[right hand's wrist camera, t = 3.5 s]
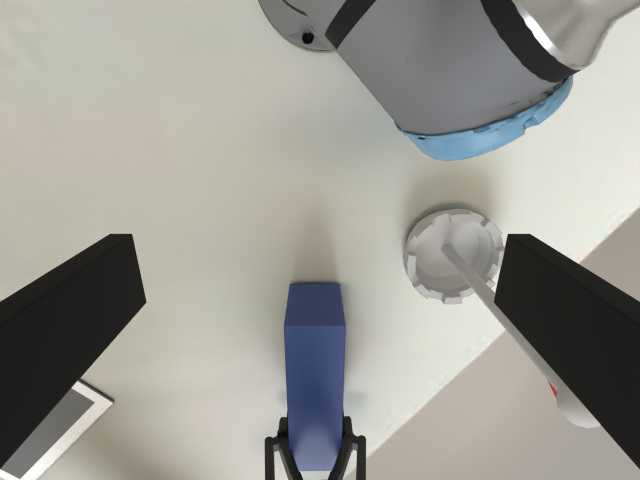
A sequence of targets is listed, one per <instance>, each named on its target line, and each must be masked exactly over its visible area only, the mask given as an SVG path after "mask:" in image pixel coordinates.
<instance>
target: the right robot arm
mask: <svg viewBox="0 0 640 480" xmlns="http://www.w3.org/2000/svg"><path fill="white" fill-rule="evenodd" d="M258 1H259V3H260V6H261V8H262V10H263V12H264V14H265V15H266V17H267V19H268V20H269V22H270V23H271V25H272V26H273V27H274V29H275V30H276V31H277V32H278V33H279V34H280V35H281V36H282V37H283V38H284V39H286V40H287V41H288V42H290V43H291V44H293V45H295V46H297V47H299V48H301V49H304V50H306V51H310V52H316V53H330V52H336V51H337V52H338V53H339V55H340V56H341V57H342V58H343V59H344V61H345V62H346V63H347V64H348V65H349V67H350V68H351V69H352V70H353V71H354V73H355V74H356V75H357V76H358V77H359V79H360V80H361V81H362V82H363V84H364V85H365V86H366V87H367V88H368V90H369V91H370V92H371V93H372V94H373V96H374V97H375V98H376V99H377V100H378V102H379V103H380V104H381V105H382V106H383V108H384V109H385V110H386V111H387V112H388V114H389V115H390V116H391V117H392V118H393V120H394V122H395V125H396V127H397V128H398V130H399V131H400V132H402V133H403V134H404V135H406V136H408V137H409V138H410V139H411V140H412V141H413V142H414V143H415V144H416V145H417V147H418V148H419V149H420V150H421V151H422V152H423V153H425V154H426V155H428V156H430V157H432V158H435V159H438V160H446V161H451V160H461V159H467V158H471V157H475V156H478V155H481V154H484V153H487V152H490V151H492V150H495V149H497V148H499V147H502V146H504V145H506V144H508V143H510V142H512V141H513V140H515V139H517V138H519V137H520V136H522V135H524V133H525V129H526V128H528V127H531V126H535V125H539V124H540V123H542V122H543V121H544V120H546V119H547V118H548V117H549V116H551V115H552V114H553V113H554V112H555V111H556V110H557V109H558V108H559V107H560V106H561V104H562V103H563V102H564V101H565V100H566V98H567V97H568V95H569V93H570V90H571V88H572V84H573V74H575V73H577V72H579V71H580V70H582V69H584V68H586V67H587V66H589V65H590V64H592V63H593V62H594V61H595V59H596V57H597V55H598V53H599V51H600V48H601V46H602V44H603V42H604V40H605V38H606V36H607V34H608V32H609V30H610V29H611V28H612V27H613V25H614V24H615V23H616V22H617V20H619V19H621V18H622V17H624V16H626V15H627V14H629V13H631V12H632V11H634V10H636V9H637V8H639V7H640V0H258ZM145 303H146V298H145V293H144V288H143V283H142V279H141V274H140V269H139V264H138V260H137V255H136V250H135V246H134V241H133V236H132V234H109V235H108V236H106V237H104V238H103V239H101V240H100V241H98V242H96V243H95V244H93V245H91V246H90V247H88V248H87V249H85V250H83V251H82V252H80V253H79V254H77V255H75V256H74V257H72V258H70V259H69V260H67V261H66V262H64V263H62V264H61V265H59V266H58V267H56V268H54V269H53V270H51V271H49V272H48V273H46V274H45V275H43V276H41V277H40V278H38V279H36V280H35V281H33V282H32V283H30V284H28V285H27V286H25V287H24V288H22V289H20V290H19V291H17V292H15V293H14V294H12V295H11V296H9V297H7V298H6V299H4V300H2V301H1V302H0V469H1V468H2V467H3V465H4V464H5V463H6V462H7V461H8V460H9V459H10V458H11V456H12V455H13V454H14V453H15V452H16V451H17V450H18V448H19V447H20V446H21V445H22V444H23V443H24V442H25V440H26V439H27V438H28V437H29V436H30V435H31V434H32V432H33V431H34V430H35V429H36V428H37V427H38V426H39V424H40V423H41V422H42V421H43V420H44V419H45V418H46V416H47V415H48V414H49V413H50V412H51V411H52V410H53V408H54V407H55V406H56V405H57V404H58V403H59V402H60V400H61V399H62V398H63V397H64V396H65V395H66V394H67V392H68V391H69V390H70V389H71V388H72V387H73V386H74V384H75V383H76V382H77V381H78V380H79V379H80V378H81V376H82V375H83V374H84V373H85V372H86V371H87V370H88V368H89V367H90V366H91V365H92V364H93V363H94V362H95V360H96V359H97V358H98V357H99V356H100V355H101V354H102V353H103V351H104V350H105V349H106V348H107V347H108V346H109V345H110V343H111V342H112V341H113V340H114V339H115V338H116V337H117V335H118V334H119V333H120V332H121V331H122V330H123V329H124V327H125V326H126V325H127V324H128V323H129V322H130V321H131V319H132V318H133V317H134V316H135V315H136V314H137V313H138V311H139V310H140V309H141V308H142V307H143V306H144V305H145ZM494 303H495V305H496V306H497V307H498V308H499V309H500V310H501V311H502V313H503V314H504V315H505V316H506V317H507V318H508V319H509V321H510V322H511V323H512V324H513V325H514V326H515V327H516V329H517V330H518V331H519V332H520V333H521V334H522V335H523V337H524V338H525V339H526V340H527V341H528V342H529V343H530V345H531V346H532V347H533V348H534V349H535V350H536V351H537V353H538V354H539V355H540V356H541V357H542V358H543V359H544V360H545V362H546V363H547V364H548V365H549V366H550V367H551V368H552V370H553V371H554V372H555V373H556V374H557V375H558V376H559V378H560V379H561V380H562V381H563V382H564V383H565V384H566V386H567V387H568V388H569V389H570V390H571V391H572V392H573V394H574V395H575V396H576V397H577V398H578V399H579V400H580V402H581V403H582V404H583V405H584V406H585V407H586V408H587V410H588V411H589V412H590V413H591V414H592V415H593V416H594V418H595V419H596V420H597V421H598V422H599V423H600V424H601V426H602V427H603V428H604V429H605V430H606V431H607V432H608V433H609V435H610V436H611V437H612V438H613V439H614V440H615V442H616V443H617V444H618V445H619V446H620V447H621V448H622V450H623V451H624V452H625V453H626V454H627V455H628V456H629V457H630V459H631V460H632V461H633V462H634V463H635V464H636V465H637V467H638V468H639V469H640V302H639V301H638V300H636V299H634V298H633V297H631V296H629V295H628V294H626V293H625V292H623V291H621V290H620V289H618V288H616V287H615V286H613V285H612V284H610V283H608V282H607V281H605V280H604V279H602V278H600V277H599V276H597V275H595V274H594V273H592V272H591V271H589V270H587V269H586V268H584V267H582V266H581V265H579V264H578V263H576V262H574V261H573V260H571V259H570V258H568V257H566V256H565V255H563V254H561V253H560V252H558V251H557V250H555V249H553V248H552V247H550V246H549V245H547V244H545V243H544V242H542V241H540V240H539V239H537V238H536V237H534V236H532V235H531V234H508V236H507V241H506V246H505V250H504V255H503V260H502V264H501V269H500V274H499V279H498V283H497V288H496V293H495V298H494Z"/></svg>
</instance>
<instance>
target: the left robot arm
mask: <svg viewBox="0 0 640 480" xmlns="http://www.w3.org/2000/svg"><path fill="white" fill-rule="evenodd" d="M278 450H279V453H280V456H281V459H282V462H283V465H284V468H285V471H286V474H287V477H288V480H303V478H302V475H301V473H300V472H299V470H298V467H297V464H296V462H295V459H294V456H293V454H292V451H291V450H290V449H289V431H288V411H287V417H281V419H280V422H279V430H278V432H277V436H276V437H274V438H272V437H267V438H266V439H265V480H275V470H274V452H275V451H278ZM353 450H356V451H357V469H356V480H366V438H365V436H363V435H360V436H359V437H358V436H355V435H354V434H353V431H352V423H351V418H350V416H344V412H343V420H342V449H340V450H339V453H338V455H337V458H336V461H335V464H334V466H333V469H332V471H331V472H330V475H329V478H328V480H342V479H343V476H344V473H345V470H346V467H347V464H348V461H349V458H350V455H351V452H352V451H353Z"/></svg>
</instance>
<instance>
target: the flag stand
mask: <svg viewBox="0 0 640 480" xmlns="http://www.w3.org/2000/svg"><path fill="white" fill-rule="evenodd" d="M501 234H502V232H501V231H500V230H499V228H498V227H497V226H496V225H495V224H493V223H492V222H491V221H489V220H488V219H487V218H485V217H484V216H482V215H480V214H478V213H476V212H474V211H470V210H466V209H450V210H442V211H437V212H434V213H431V214H429V215H428V216H426V217H424V218H423V219H422V220H420V221H419V222H418V223H417V224H416V225H415V226H414V227H413V229H412V231H411V232H410V234H409V236H408V239H407V243H406V246H405V249H404V256H403V259H404V267H405V270H406V273H407V275H408V277H409V279H410V281H411V282H412V284H413V286H414V288H415V289H416V290H417V291H418V292H419V293H420V294H421V295H422V296H424V297H425V298H427V299H428V297H432V298H435V299H440V300H442V302H443V303H444V304H460V303H462V298H464V297H467V296H470V295H472V294H474V293H476V294H477V295H478V296H479V298H480V299H481V300H482V301H483V302H484V304H485V305H486V306H487V307H488V308H489V310H490V311H491V312H492V313H493V315H494V316H495V317H496V318H497V319H498V321H499V322H500V323H501V324H502V325H503V327H504V328H505V329H506V330H507V331H508V333H509V334H510V335H511V336H512V338H513V339H514V340H515V341H516V342H517V344H518V345H519V346H520V347H521V348H522V350H523V351H524V352H525V353H526V355H527V356H528V357H529V358H530V359H531V361H532V362H533V363H534V364H535V365H536V367H537V368H538V369H539V370H540V371H541V373H542V374H543V375H544V376H545V377H546V379H547V380H548V382H549V384H550V386H551V388H552V390H553V393H554V395H555V397H556V401H557V405H558V408H559V410H560V411H561V413H562V414H563V415H564V416H565V417H566V419H568V420H569V421H570V422H572V423H574V424H576V425H578V426H581V427H586V428H593V427H598V426H600V425H601V424H600V423H599V422H598V421H597V420H596V419H595V418H594V416H593V415H592V414H591V413H590V412H589V411H588V410H587V408H586V407H585V406H584V405H583V404H582V403H581V402H580V400H579V399H578V398H577V397H576V396H575V395H574V394H573V392H572V391H571V390H570V389H569V388H568V387H567V386H566V384H565V383H564V382H563V381H562V380H561V379H560V378H559V376H558V375H557V374H556V373H555V372H554V371H553V370H552V368H551V367H550V366H549V365H548V364H547V363H546V362H545V360H544V359H543V358H542V357H541V356H540V355H539V354H538V353H537V351H536V350H535V349H534V348H533V347H532V346H531V345H530V343H529V342H528V341H527V340H526V339H525V338H524V337H523V335H522V334H521V333H520V332H519V331H518V330H517V329H516V327H515V326H514V325H513V324H512V323H511V322H510V321H509V319H508V318H507V317H506V316H505V315H504V314H503V313H502V311H501V310H500V309H499V308H498V307H497V306H496V305H495V303H494V298H495V293H494V292H493V291H492V290H491V288H492V287H493V286H494V285H495V283H494V282H493V281H492V278H493V277H494V276H495V274H496V273H497V271H498V269H499V267H501V264H502V260H503V255H504V250H505V248H504V247H503V242H502V238H501Z"/></svg>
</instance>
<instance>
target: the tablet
mask: <svg viewBox="0 0 640 480" xmlns="http://www.w3.org/2000/svg"><path fill="white" fill-rule="evenodd" d="M113 402H114V401H113V400H111V399H110V398H108V397H106V396H105V395H103V394H102V393H100V392H98V391H97V390H95V389H93V388H92V387H90V386H89V385H87V384H85V383H84V382H82V381H80V380H78V381H77V382H76V383H75V384H74V386H73V387H72V388H71V389H70V390H69V391H68V392H67V394H66V395H65V396H64V397H63V398H62V399H61V400H60V402H59V403H58V404H57V405H56V406H55V407H54V408H53V410H52V411H51V412H50V413H49V414H48V415H47V416H46V418H45V419H44V420H43V421H42V422H41V423H40V424H39V426H38V427H37V428H36V429H35V430H34V431H33V432H32V434H31V435H30V436H29V437H28V438H27V439H26V440H25V442H24V443H23V444H22V445H21V446H20V447H19V448H18V450H17V451H16V452H15V453H14V454H13V455H12V456H11V458H10V459H9V460H8V461H7V462H6V463H5V464H4V465H3V467H2V468H1V469H0V477H1V478H3V479H5V480H36V479H37V478H38V477H39V476H40V475H41V474H42V473H43V472H44V471H45V470H46V469H47V468H48V467H49V466H50V465H51V464H52V463H53V462H54V461H55V460H56V459H57V458H58V457H59V456H60V455H61V454H62V453H63V452H64V451H65V450H66V449H67V448H68V447H69V446H70V445H71V444H72V443H73V442H74V441H75V440H76V439H77V438H78V437H79V436H80V435H81V434H82V433H83V432H84V431H85V430H86V429H87V428H88V427H89V426H90V425H91V424H92V423H93V422H94V421H95V420H96V419H97V418H98V417H99V416H100V415H102V414H103V413H104V412H105V411H106V410H107V409H108V408H109V407H110V406H111V405H112V404H113Z"/></svg>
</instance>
